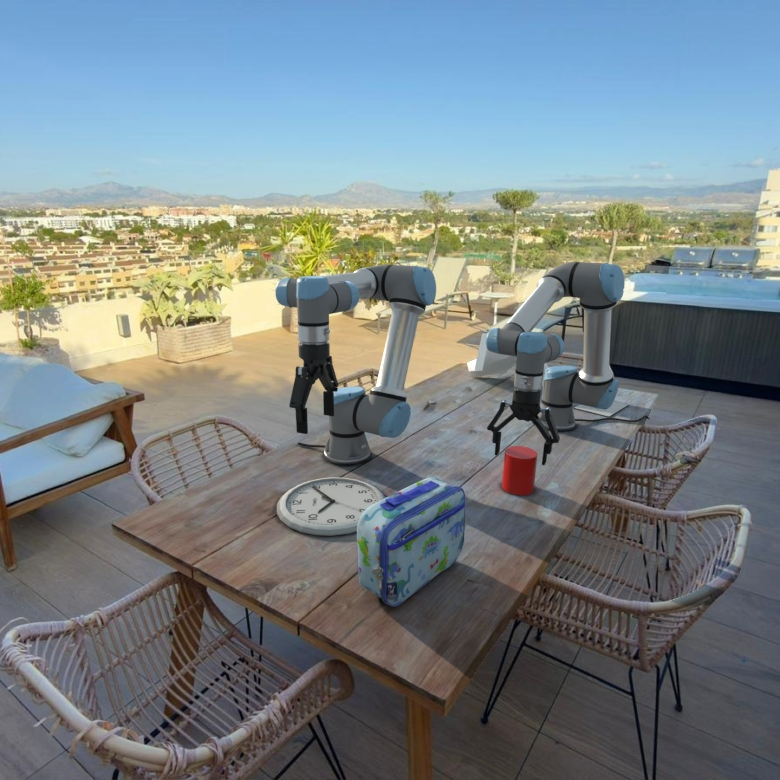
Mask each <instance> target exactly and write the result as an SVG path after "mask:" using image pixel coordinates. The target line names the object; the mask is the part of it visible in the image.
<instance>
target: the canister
mask: <svg viewBox="0 0 780 780" xmlns="http://www.w3.org/2000/svg"><path fill="white" fill-rule="evenodd" d="M537 462H538V452H537V451H536V450H535V449H533V448H531V447H528V446H522V445H512V446H511V445H510V446H508V447H506V448H505V449H504V457H503V468H502V480H501V488H502V490H504V492H506V493H508V494H511V495H513V496H529V495H531V494H532V493H533V492H534V489H535V482H536V481H535V480H536V472H537Z"/></svg>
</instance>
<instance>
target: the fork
mask: <svg viewBox="0 0 780 780" xmlns="http://www.w3.org/2000/svg"><path fill="white" fill-rule="evenodd" d="M436 399H437V397H436V396H435V395H430V398H429V400H428V403H427V404H425V406H424V407H423V411H425V410H426V409H427V408H428V407H430V405H431V404H434V403H435V402H436Z"/></svg>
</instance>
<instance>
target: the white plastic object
mask: <svg viewBox="0 0 780 780" xmlns="http://www.w3.org/2000/svg"><path fill="white" fill-rule="evenodd" d="M520 307H521V306H519V307H517V310H518V309H519V308H520ZM487 334H488V332H486V333H481V336H480V337H481V338H480V342H479V346H478V347H479V348H478V351H477V355H476V358H475V359H473V360H470V361H468V362H466V365H467V369H468V373H469V374H470V375H471V376H472V377H473V378H476V377H483V376H491V375H492V376H493V375H498V376H501V375H504V374H507V373H508V372H509V370H510V369H512V368H513V367H514V366H516V360H517V357H516V356H509V355H503V354H498V353H494V352H491V351H489V350H488V349H487V347H486V336H487ZM548 368H549V366H548V362H547V363H545V364H544V372H545V371H546V369H548ZM540 390H543V387H542V388H541V389H540Z"/></svg>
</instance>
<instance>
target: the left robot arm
mask: <svg viewBox="0 0 780 780" xmlns="http://www.w3.org/2000/svg"><path fill="white" fill-rule="evenodd" d="M274 294H275V299H276V301H277V303H278V304H280V305H281V306H283V307H289V308H296V311H297V341H299V342H298V344H297V346H298V348H297V349H298V357H299V359H301V360H302V361H303V364H302V366H299V365H298V366H296V367H295V375H294V376H295V377H294V381H293V386H292V390H291V395H290V401H289V405H288V406H289V408H292V409H294V410H295V425H296V426H295V427H296V433H297V434H303V435H307V434H309V426H308V421H309V420H308V408H307V407H306V405H307V402H308V400H309V396H310V393H311V390H312V388H313V385H315V383H316V382H317V380H319V382H320V384H321V385H322V387H323V389H324V391H322V396H323V397H322V398H323V402H322V403H323V416H327V417H328V425H329V426H328V428H329V429H328V431H329V432H328V433H329V435H328V437H327V440H326V443H325V445H324V444H307V443H303V442H297V445H299V446H303V447H307V448H321V449H322V448H323V449H324V450H323V451H324V452H323V456H324V459H325V460H326V461H327V462H329V463H331V464H335V465H339V466H351V465H358V464H361V463H364V462H367V461H368V460H369V459H370V457H371V447H370V444H369V441H368V439H367V436H366V433H367V434H372V435H376V436H379V437H381V438H391V439H396V438H398V437H400V436H401V435H402V434H403V433H404V432H405V430H406V429H407V427H408V424H409V422H410V419H411V415H412V411H411V405H410V404H409V403H408V402H407V398H408V397H407V395H406V393H405V391H404V388H405V385H406V379H407V375H408V370H409V365H410V360H411V356H412V351H413V347H414V343H415V342H414V341H415V336H416V331H417V328H418V322H419V318H420V317H421V316H422V315H424V314H425V313H426V309H427V307H428V306H431V305H433V304H434V302H435V300H436V297H437V296H436V295H437V282H436V277H435V275H434V273H433V271H432V270H431V269H430V268H429V267H427V266H419V265H404V264H379V265H373V266H367V267H361V268H358V269H356V270H355V271H354V272H347V273H337V274H330V275H329V274H328V275H321V276H320V275H306V276H300V277H298V278H293V277H284V278H281V279H280V280H279V281H278V282H277V283H276V285H275V292H274ZM369 299H370V300H377V301H384V302H388V307H389V308H390V309H391V314H390V319H389V324H388V328H387V334H386V337H385V342H384V347H383V352H382V356H381V361H380V365H379V366H380V367H379V371H378V375H377V380H376V385H375V386H373V387H372V388H370V390H369V394H366V392H367V391H366V389H365V388H364V387H362V386H345V387H344V386H343V387H340V388H338V387H339V381H338V378H337V374H336V371H335V367H334V364H333V357H332V355H331V347H330V346H331V345H330V344H331V343H330V342H329V340H330V333H331V329H330V315H332V314H337V313H341V312H342V313H344V312H345V313H346V312H348V311H350V310H353V309H355V308H356V307H357V305H358V304H359V301H360V300H369Z"/></svg>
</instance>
